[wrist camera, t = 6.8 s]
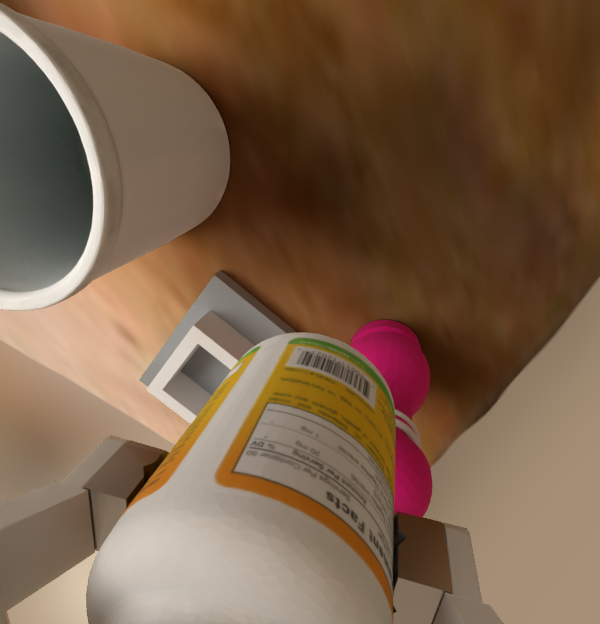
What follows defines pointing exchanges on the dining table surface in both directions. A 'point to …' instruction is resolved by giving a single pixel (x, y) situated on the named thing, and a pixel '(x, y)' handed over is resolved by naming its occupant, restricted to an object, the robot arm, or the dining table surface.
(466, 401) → the dining table surface
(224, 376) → the docking board
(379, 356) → the pepper mill
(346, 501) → the supplement bottle
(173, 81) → the utensil holder
